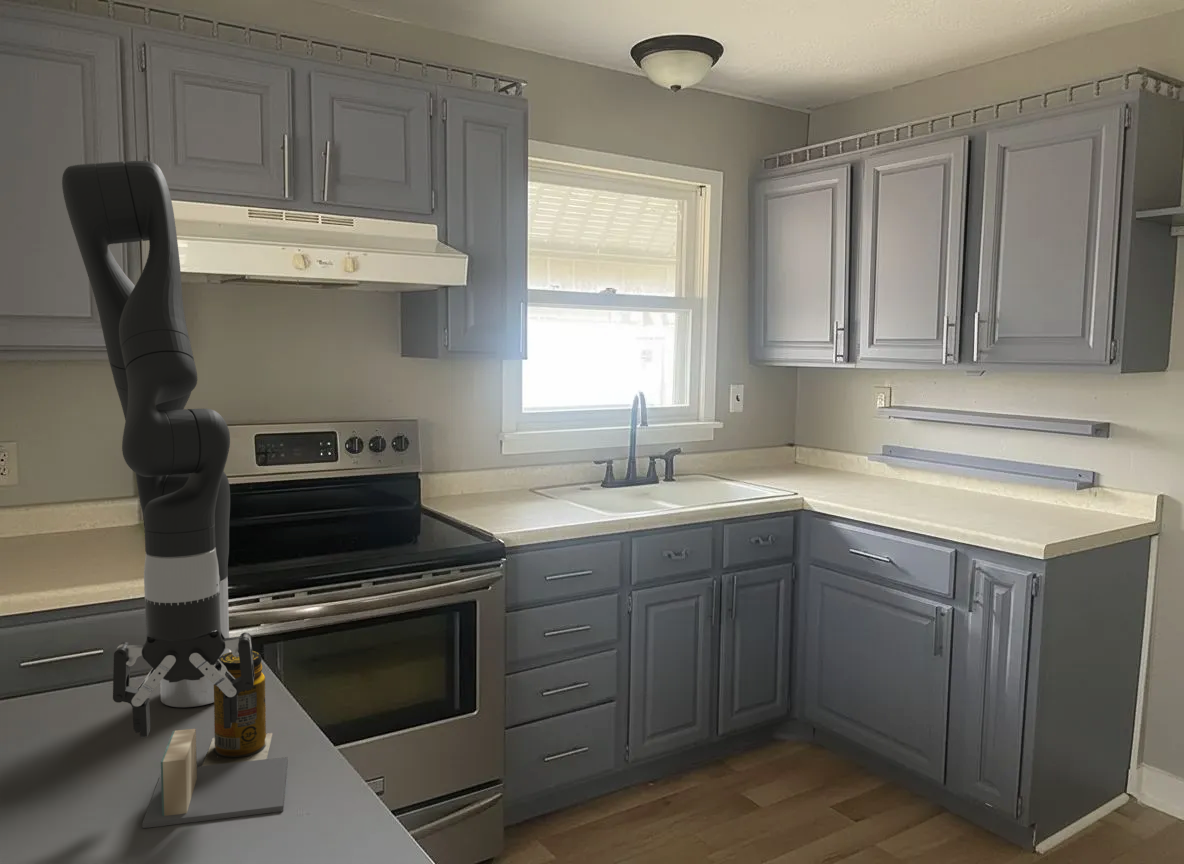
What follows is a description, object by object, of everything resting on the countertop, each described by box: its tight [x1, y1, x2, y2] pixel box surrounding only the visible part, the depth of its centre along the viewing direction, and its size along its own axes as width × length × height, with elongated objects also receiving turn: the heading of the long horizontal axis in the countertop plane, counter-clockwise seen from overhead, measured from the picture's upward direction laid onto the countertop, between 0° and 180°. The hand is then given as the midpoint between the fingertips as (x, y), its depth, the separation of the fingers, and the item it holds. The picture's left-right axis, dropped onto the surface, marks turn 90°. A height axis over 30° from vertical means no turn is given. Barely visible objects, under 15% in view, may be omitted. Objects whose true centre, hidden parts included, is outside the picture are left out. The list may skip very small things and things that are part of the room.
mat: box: [142, 756, 289, 829], centre depth 102 cm, size 12×14×1 cm
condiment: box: [201, 650, 273, 766], centre depth 112 cm, size 7×8×12 cm
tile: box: [160, 728, 198, 816], centre depth 99 cm, size 2×6×8 cm
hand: (187, 729), depth 101 cm, fingers open, 8 cm apart
